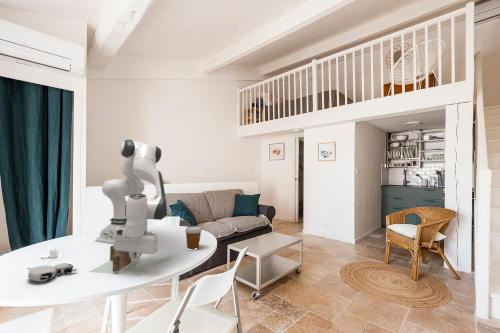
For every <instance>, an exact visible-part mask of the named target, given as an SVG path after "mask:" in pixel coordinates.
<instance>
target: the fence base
mask: <svg viewBox="0 0 500 333" xmlns="http://www.w3.org/2000/svg"><path fill="white" fill-rule="evenodd" d="M123 252H125V251H117V250H115V249H114V244H113V245H111V246H109V261H113V257H114V256H116V255H119V254H121V253H123ZM135 257H137V255H136V252H135Z"/></svg>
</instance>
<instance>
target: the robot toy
mask: <svg viewBox="0 0 500 333" xmlns="http://www.w3.org/2000/svg"><path fill="white" fill-rule="evenodd" d="M26 270H28V275H27V276H28V277H27V278H28V279H29V280H32V281H34V282H40V283H43V282H46V281H47V280H50V279H53V278H54V277H55V276H60V275H64V274H72V272H73V273H74V272H76V271H77V270H78V268H74V265H73V264H71V263H66V262H63V263H58V264H55V265H54V266H52V265H48V264H47V265H39V266H35V267H31V268H29V267H27V268H26Z"/></svg>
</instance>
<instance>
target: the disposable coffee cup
mask: <svg viewBox="0 0 500 333" xmlns="http://www.w3.org/2000/svg"><path fill="white" fill-rule="evenodd" d="M202 231H203V230H202V227H200V226H187V227H186V228H185V230H184V232H185V234H186V235H185V236H186V248H189V249H195V248H198V249H199V246H200V245H199V244H200V241H201V233H202Z"/></svg>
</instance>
